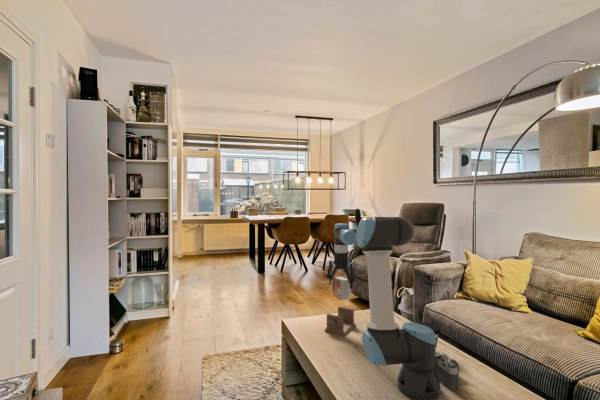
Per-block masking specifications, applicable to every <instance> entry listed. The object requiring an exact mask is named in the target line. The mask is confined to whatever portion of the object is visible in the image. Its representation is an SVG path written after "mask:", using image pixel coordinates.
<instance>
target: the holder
mask: <svg viewBox="0 0 600 400" xmlns="http://www.w3.org/2000/svg"><path fill="white" fill-rule="evenodd" d="M337 307H338V308H337V315H336V314H331V313H327V314H326V328H324V332H325V333H329V334H332V335H337V336H340V337H345V336H346V335H347V334H348V333H349V332H350V331H352V330H353V328H355V327H356V325H357V324H356V323H355V308H349V307H345V306H341V305H340V306H337Z"/></svg>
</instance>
